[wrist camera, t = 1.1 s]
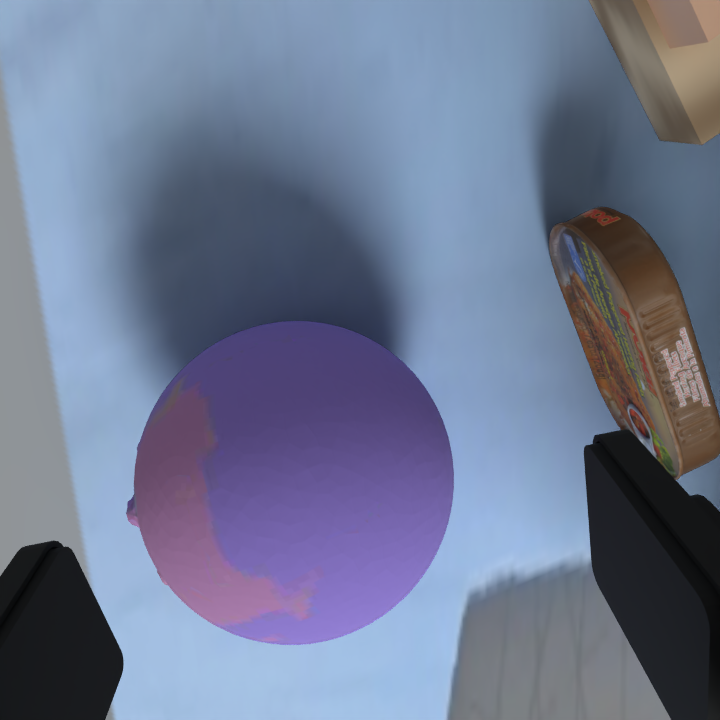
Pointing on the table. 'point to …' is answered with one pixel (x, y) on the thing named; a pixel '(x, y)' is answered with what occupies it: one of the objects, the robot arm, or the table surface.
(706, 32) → the tile terracotta
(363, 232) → the table surface
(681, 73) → the board
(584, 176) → the table surface
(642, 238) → the tin
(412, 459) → the decorative ball
